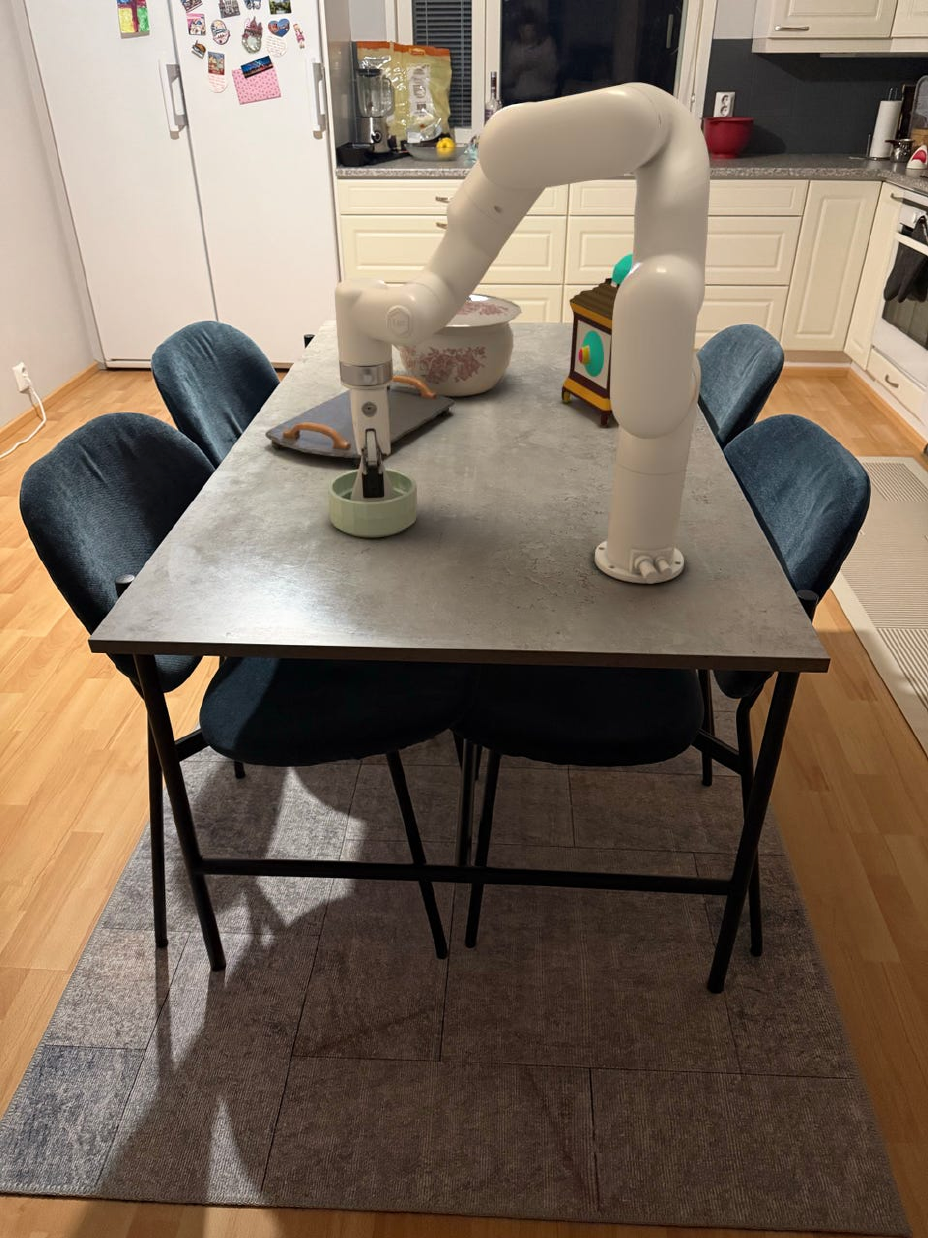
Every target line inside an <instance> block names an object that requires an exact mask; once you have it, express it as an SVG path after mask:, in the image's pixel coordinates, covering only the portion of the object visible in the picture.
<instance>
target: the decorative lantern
mask: <svg viewBox="0 0 928 1238" xmlns="http://www.w3.org/2000/svg"><path fill="white" fill-rule="evenodd" d="M632 258H633V253H629V254H626V255H624V256H623V257H622V258H621V259H620V260H619V261H618V262H617V263H616V264H614V266H613V270H612V274H611V277H606V278H604V279H605V280H604V282H600V283H599V284H598V286H594V287H593V288H592V289H586V290H585V289H584V290H581V291H580V292H579V293H578V294H575V295H573V297H572V298H570V299H569V306H570V308H571V311H572V314H573V318H572V319H573V320H572V336H571V349H570V362H569V363H570V365H569V373H568V376H567V377H566V379H565V380H564V382H563V384H562V387H561V395H560V396H561V401H562V403H569V401H570V398H571V395H572V396H573V397H575V398H577V399H578V400H580V401H581V402H583V403H584V404H586V405H588V406H589V407H591V408H593V409H594V410H596V411H597V412H598V413H599V416H600V417H599V418H600V426H601V427H602V428H606V427H607V425H608V423H609V419H610V416H611V415H614V414H613V412H612V408H611V402H610V376H611V346H612V319H613V309H614V303H615V298H616V295H617V292H618V289H619V287H620V285H621V283H622V282H623V280H624V278H625V277H626V276H627V275H628V273H629V272H630V270H631V266H632Z"/></svg>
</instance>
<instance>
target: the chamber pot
mask: <svg viewBox="0 0 928 1238" xmlns="http://www.w3.org/2000/svg"><path fill="white" fill-rule="evenodd" d="M521 314H522V309H521V306H520V305H518V304H517V303H515V302H514V301H512V300H509V299H505V298H502V297H499V296H496V295H490V294H485V293H477V292H473V293H472V294H471V295H470V297H469V298H468V299H467V301H466V302H465V303H464V305H463V306H462V307H461V309H460V310H459V311H458V313H457V314H456V315H455V317H454V318H453V319H452V320H451V321H450V322H449V323H448V324H447V325H446V326H444V327H443V328H442V329H440V330H439V331H437V332H436V333H435V334H433V335H432V336H431V337H430V338H428V339H427V340H425V341H424V342H422V343H421V344H419V345H416V346H410V347H406V346H399V345H395V344H392V347H394V348H395V349H396V350H397V351H398V352H399V356H400V360H401V364H402V366H403V368H404V369H405V371H406V373H407V374H408V377H411V378H415V379H417V380H420V381H421V382H423V383H424V384H425V385H426V386H427V387H428V389H429V390H430V391H431V392H434V393H436V394H439V395H442V396H444V397H448V398H451V397H452V398H453V397H454V398H455V397H457V398H460V397H470V396H471V397H472V396H475V395H479V394H481V393H485V392H487V391H489V390H492V388H494V387H495V386H496V384H497V383H499V381H500V379H501V378H502V376H503V375H504V373H505V372H506V370H507V369H508V367H509V366H510V362H511V358H512V354H513V349H514V330H513V328H512V326H511V324H510V321H513V320H515V319H517V318H518V316H520V315H521Z"/></svg>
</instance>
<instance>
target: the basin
mask: <svg viewBox="0 0 928 1238" xmlns="http://www.w3.org/2000/svg"><path fill="white" fill-rule="evenodd" d="M358 470H359V468H357V469H354V470H349V471H346V472H342V473H340V474H337V476H335V477H332V479H331V480H330V481H329V482H328V484H327V494H328V495H327V496H328V508H329V518H330V519H329V520H330V522H331V524H332V525H333V526H334V527H335V528H336V529H338V530H340V531H342V532H344V533H346V534H348V535H351V536H355V537H359V538H382V537H387V536H393V535H396V534H399V533H401V532H403V531H404V530H406V529H407V528H409V527H410V526H411V525H413V524H414V523H415V522H416V520H417V518H418V491H417V490H418V489H417V488H418V487H417V482H416V480H415V478H413V477H412V476H411V475H410V474H408V473H406V472H404V471H402V470H397V469H392V468H385V470H386V473H387V475H388V477H389V480H390V482H391V484H392V486H393V489H394V491H395V496H396V498H395V499H392V500H386V501H381V502H359V501H352V500H351V493H352V490H353V487H354V484H355V481H356V478H357V474H358Z"/></svg>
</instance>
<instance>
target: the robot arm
mask: <svg viewBox="0 0 928 1238" xmlns="http://www.w3.org/2000/svg"><path fill="white" fill-rule="evenodd" d="M477 157H478V158H477V159H476V161H475V163H474V164H473V165H472V167H471V169H470V170H469V172H468V173H467V175H466V176H465V178H464V179H463V181H462V182H461V184H460V185H459V186H458V188H457V189H456V191H455V192H454V194H453V195H452V197H451V198H450V200H449V201H448V203H447V206H446V211H445V215H446V220H447V225H446V229H445V232H444V234H443V237H442V238H441V241H440V242H439V243H438V246H437V247H436V249H435V251H434V252H433V254H432V255H431V257H430V258H429V259H428V261H427V262H426V264H425V266H423V268H422V270H421V271H420V272H419V274H417V276H416V277H415V278H413V279H411V280H410V281H408V282H406V283H403V284H402V285H400V286H397V287H394V288H389V287H388V285H387V283H385V282H384V281H383V280H381V279H377V278H372V277H371V278H370V277H369V278H368V277H355V278H349V279H345V280H343V281H342V280H341V281H340V282H339V283H338V284H337V285H336V287H335V289H334V307H335V309H334V310H335V320H336V321H335V322H336V336H337V348H338V349H337V350H338V362H339V365H338V366H339V376H340V377H339V379H340V384H341V385H342V386H343V387H345V388H347V389H349V390H350V401H351V413H352V422H353V429H354V436H355V441H356V446H357V452H358V454H359V455H361V456H362V459H363V472H362V487H363V497H364V498H382V497H384V475H383V471H382V464H381V460H382V454H383V455H384V454H386V456H389V455H390V454H391V444H390V432H389V411H388V397H387V388H386V387H387V386H389V385H393V383H394V382H393V376H394V367H393V366H394V363H393V345H392V344H395V345H399V346H406V347H410V346H416V345H419V344H421V343H422V342H424V341H425V340H427V339H428V338H430V337H431V336H432V335H433V334H435V333H436V332H437V331H439V330H440V329H442V328H443V327H444V326H446V325H447V324H448V323H449V322H450V321H451V320H452V319H453V318H454V317H455V315H456V314H457V313H458V311H459V310H460V309H461V307H462V306H463V305H464V303H465V302H466V301H467V299H468V298H469V297H470V295H471V294H472V293H474V292H475V290H476V288H477V287H478V286H479V284H480V283H481V281H482V280H483V279H484V277H485V276H486V274H487V272H488V271H489V269H490V268H491V266H492V265H493V263H494V261H496V260H497V258H498V256H499V254H500V252H501V250H502V249H503V248H504V246H505V244H506V243H507V241H509V239H510V237H511V236H512V235H513V233H514V232H515V230H517V227H518V226H519V225H520V224H521V222H522V220H523V219H524V218H525V217H526V216H527V214H528V213H529V211H530V210H531V208H532V207H533V206H534V204H535V203H536V202H537V201H538V199H539V198H540V197H541V195H542V194H543V193H544V191H545V190H546V189H547V188H552V187H558V186H566V185H572V184H578V183H583V182H590V181H597V180H602V179H609V178H615V177H620V176H622V175H623V176H624V175H626V174H630V173H631V172H633V174H634V176H635V185H636V194H635V204H634V213H633V229H634V231H633V246H632V247H633V248H632V254H633V258H632V266H631V270H630V272H629V273H628V275H627V276H626V277H625V278H624V280H623V282H622V283H621V285H620V287H619V289H618V292H617V295H616V298H615V303H614V309H613V319H612V346H611V376H610V402H611V408H612V412H613V414H612V415H613V417H614V419H615V421H616V422H617V424H618V433H617V441H616V449H615V459H614V468H613V469H614V470H613V479H612V488H611V498H610V509H609V519H608V529H607V531H608V532H607V539H606V540H605V541H603V542H601V543H600V544H599V545H597V546H596V548H595V551H594V563H595V565H596V566H597V568H598V569H599V570H600V571H602V572H603V573H604V574H606V575H608V577H609V576H610V577H612V578H614V579H617V580H621V581H623V582H628V583H634V584H648V585H649V584H650V585H652V584H657V583H664V582H667V581H670V580H672V579H674V578H676V577H678V576H679V575H680V574H681V573H682V572H683V570H684V565H685V558H684V555H683V553H682V552H681V551H680V550H679V549H678V548H677V547H676V542H677V536H678V535H677V534H678V529H679V521H680V515H681V507H682V501H683V494H684V487H685V479H686V473H687V467H688V462H689V455H690V447H691V441H692V435H693V428H694V424H695V419H696V418H695V417H696V412H697V406H698V401H699V396H700V391H701V383H702V371H701V370H702V369H701V364H700V361H699V358H698V356H697V354H696V353H695V346H696V345H695V344H696V331H697V322H698V316H699V314H700V311H701V309H702V306H703V303H704V301H705V297H706V258H707V245H708V244H707V243H708V233H709V231H708V230H709V210H710V209H709V206H710V193H711V192H710V191H711V190H710V189H711V187H710V186H711V166H710V165H711V164H710V155H709V150H708V145H707V142H706V139H705V136H704V133H703V130H702V129H701V126H700V124H699V122H698V121H697V119H696V118H695V116H694V114H693V113H692V111H690V109H689V108H688V106H686V105H685V104H684V103H682V101H680V100H679V99H678V98H677V97H675V96H673V95H672V94H671V93H669V92H667V91H665V90H664V89H662V88H660V87H657V86H655V85H652V84H649V83H646V82H645V83H644V82H627V83H622V84H619V85H614V86H609V87H604V88H599V89H594V90H591V91H585V92H581V93H576V94H572V95H571V94H570V95H566V96H561V97H557V98H552V99H547V100H542V101H535V102H534V101H527V102H522V103H517V104H511V105H508V106H504V107H503V108H501V109H498V110H497V111H496V112H495V113H494V114H493V115H491V116H490V118H489V119H488V120H487V121H486V123H485V125H484V126H483V128H482V131H481V132H480V136H479V139H478V144H477ZM366 435H367V438H366ZM375 437H376V438H375ZM364 447H365V449H368V452H366V453H365V451H364ZM376 449H378V452H376ZM366 457H368V461H367V462H366ZM377 459H378V460H377ZM360 463H361V458H360Z"/></svg>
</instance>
